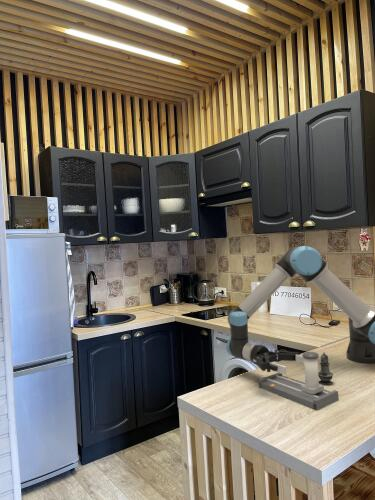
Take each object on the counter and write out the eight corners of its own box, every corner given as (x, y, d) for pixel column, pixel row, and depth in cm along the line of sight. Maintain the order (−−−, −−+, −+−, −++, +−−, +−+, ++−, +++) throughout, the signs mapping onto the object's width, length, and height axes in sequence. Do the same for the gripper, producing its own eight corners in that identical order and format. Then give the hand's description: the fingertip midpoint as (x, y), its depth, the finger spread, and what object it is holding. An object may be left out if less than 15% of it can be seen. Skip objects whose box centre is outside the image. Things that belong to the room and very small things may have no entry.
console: (280, 379, 146) (279, 372, 146) (338, 399, 124) (338, 391, 124) (258, 387, 139) (258, 379, 139) (316, 410, 118) (316, 401, 118)
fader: (311, 385, 130) (309, 350, 130) (324, 390, 125) (322, 353, 125) (300, 390, 126) (298, 354, 126) (313, 394, 122) (311, 357, 122)
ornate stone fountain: (329, 379, 143) (328, 349, 143) (336, 385, 137) (334, 353, 137) (315, 380, 143) (313, 350, 143) (321, 386, 137) (319, 354, 137)
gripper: (277, 356, 154) (320, 368, 137) (233, 370, 140) (275, 385, 123) (276, 338, 154) (319, 349, 137) (232, 350, 140) (273, 363, 123)
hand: (298, 366), depth 130 cm, fingers open, 13 cm apart
